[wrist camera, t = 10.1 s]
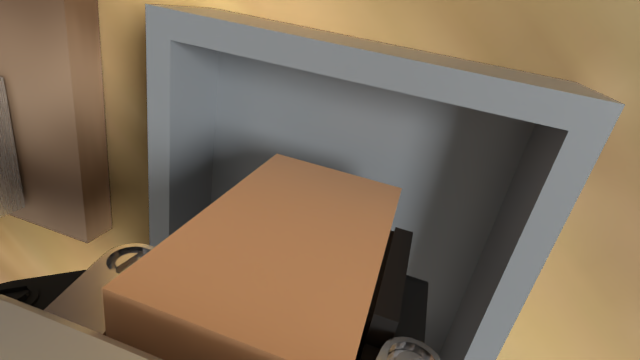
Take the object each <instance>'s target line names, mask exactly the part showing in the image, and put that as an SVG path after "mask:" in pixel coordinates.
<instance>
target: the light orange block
mask: <svg viewBox="0 0 640 360" xmlns="http://www.w3.org/2000/svg"><path fill="white" fill-rule="evenodd" d="M401 190H402V188H399V187H395V186H392V185H388V184H385V183H381V182H377V181H374V180H370V179H367V178H363V177H359V176H356V175H352V174H349V173H345V172H341V171H338V170H334V169H331V168H327V167H323V166H320V165H316V164H313V163H309V162H305V161H302V160H298V159H295V158H291V157H287V156H284V155H280V154H276V155H274V156H273V157H272V158H270V159H269V160H268V161H267V162H265V163H264V164H263V165H261V166H260V167H259V168H257V169H256V170H255V171H253V172H252V173H251V174H250V175H248V176H247V177H246V178H244V179H243V180H242V181H240V182H239V183H238V184H237V185H235V186H234V187H233V188H231V189H230V190H229V191H227V192H226V193H225V194H224V195H222V196H221V197H220V198H218V199H217V200H216V201H214V202H213V203H212V204H210V205H209V206H208V207H207V208H205V209H204V210H203V211H201V212H200V213H199V214H197V215H196V216H195V217H194V218H192V219H191V220H190V221H188V222H187V223H186V224H184V225H183V226H182V227H181V228H179V229H178V230H177V231H175V232H174V233H173V234H171V235H170V236H169V237H168V238H166V239H165V240H164V241H162V242H161V243H160V244H158V245H157V246H156V247H154V248H153V249H152V250H151V251H149V252H148V253H147V254H145V255H144V256H143V257H141V258H140V259H139V260H138V261H136V262H135V263H134V264H132V265H131V266H130V267H128V268H127V269H126V270H125V271H123V272H122V273H121V274H119V275H118V276H117V277H115V278H114V279H113V280H111V281H110V282H109V283H108V284H106V285H105V286H104V287H102V293H103V305H104V317H105V329H106V336H107V337H110V338H112V339H115V340H117V341H120V342H122V343H124V344H127V345H129V346H132V347H134V348H137V349H139V350H141V351H144V352H146V353H149V354H151V355H153V356H156V357H158V358H161V359H163V360H355V359H356V355H357V351H358V348H359V344H360V340H361V337H362V333H363V329H364V326H365V322H366V318H367V315H368V311H369V307H370V304H371V300H372V296H373V293H374V289H375V285H376V282H377V278H378V274H379V271H380V267H381V263H382V259H383V256H384V252H385V248H386V245H387V241H388V237H389V234H390V230H391V226H392V223H393V219H394V215H395V212H396V208H397V204H398V201H399V197H400V193H401Z"/></svg>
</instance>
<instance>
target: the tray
mask: <svg viewBox="0 0 640 360" xmlns="http://www.w3.org/2000/svg"><path fill="white" fill-rule="evenodd" d="M145 10H146V66H147V123H148V180H149V237H150V246H153V247H156V246H157V245H158V244H160V243H161V242H162V241H164V240H165V239H166V238H168V237H169V236H170V235H171V234H173V233H174V232H175V231H177V230H178V229H179V228H181V227H182V226H183V225H184V224H186V223H187V222H188V221H190V220H191V219H192V218H194V217H195V216H196V215H197V214H199V213H200V212H201V211H203V210H204V209H205V208H207V207H208V206H209V205H210V204H212V203H213V202H214V201H216V200H217V199H218V198H220V197H221V196H222V195H224V194H225V193H226V192H227V191H229V190H230V189H231V188H233V187H234V186H235V185H237V184H238V183H239V182H240V181H242V180H243V179H244V178H246V177H247V176H248V175H250V174H251V173H252V172H253V171H255V170H256V169H257V168H259V167H260V166H261V165H263V164H264V163H265V162H267V161H268V160H269V159H270V158H272V157H273V156H274V155H276V154H280V155H284V156H287V157H291V158H295V159H298V160H302V161H305V162H309V163H313V164H316V165H320V166H323V167H327V168H331V169H334V170H338V171H341V172H345V173H349V174H352V175H356V176H359V177H363V178H367V179H370V180H374V181H377V182H381V183H385V184H388V185H392V186H395V187H399V188H402V190H401V193H400V197H399V201H398V204H397V208H396V212H395V215H394V219H393V223H392V226H391V231H394V230H395V227H397V228H401V229H404V230H407V231H411V232H413V237H412V243H411V249H410V255H409V262H408V268H407V274H406V275H409V276H412V277H415V278H418V279H421V280H424V281H427V282H428V301H427V315H426V329H425V344H426V345H428V346H429V347H431V348H432V349H433V350H434V351H435V352H436V353H437V354H438V356H439V357H440V359H441V360H496V358H497V356H498V354H499V352H500V351H501V349H502V347H503V345H504V343H505V341H506V339H507V337H508V335H509V333H510V331H511V329H512V327H513V325H514V323H515V321H516V319H517V317H518V315H519V313H520V311H521V309H522V307H523V305H524V303H525V301H526V299H527V297H528V295H529V293H530V291H531V289H532V287H533V285H534V283H535V281H536V279H537V277H538V275H539V274H540V272H541V270H542V268H543V266H544V264H545V262H546V260H547V258H548V256H549V254H550V252H551V250H552V248H553V246H554V244H555V242H556V240H557V238H558V236H559V234H560V232H561V230H562V228H563V226H564V224H565V222H566V220H567V218H568V216H569V214H570V212H571V210H572V208H573V206H574V204H575V202H576V200H577V198H578V197H579V195H580V193H581V191H582V189H583V187H584V185H585V183H586V181H587V179H588V177H589V175H590V173H591V171H592V169H593V167H594V165H595V163H596V161H597V159H598V157H599V155H600V153H601V151H602V149H603V147H604V145H605V143H606V141H607V139H608V137H609V135H610V133H611V131H612V129H613V127H614V125H615V123H616V121H617V120H618V118H619V116H620V114H621V112H622V110H623V108H624V106H625V104H623V103H621V102H618V101H616V100H614V99H612V98H610V97H608V96H605V95H603V94H601V93H599V92H597V91H594V90H592V89H590V88H588V87H586V86H584V85H581V84H579V83H577V82H573V81H568V80H563V79H558V78H553V77H548V76H543V75H539V74H534V73H529V72H524V71H519V70H514V69H509V68H504V67H499V66H494V65H490V64H485V63H480V62H475V61H470V60H465V59H460V58H455V57H450V56H446V55H441V54H436V53H431V52H426V51H421V50H416V49H411V48H406V47H401V46H397V45H392V44H387V43H382V42H377V41H372V40H367V39H362V38H357V37H352V36H348V35H343V34H338V33H333V32H328V31H323V30H318V29H313V28H308V27H303V26H299V25H294V24H289V23H284V22H279V21H274V20H269V19H264V18H259V17H255V16H250V15H245V14H240V13H235V12H230V11H225V10H220V9H215V8H204V7H188V6H172V5H156V4H145Z"/></svg>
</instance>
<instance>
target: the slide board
mask: <svg viewBox="0 0 640 360" xmlns="http://www.w3.org/2000/svg"><path fill="white" fill-rule="evenodd" d="M0 76H1V77H3V78H4V84H5V90H6V96H7V102H8V107H9V113H10V119H11V125H12V131H13V137H14V143H15V149H16V154H17V160H18V166H19V172H20V178H21V184H22V190H23V196H24V201H25V207H24V208H22V209H19V210H17V211H15V212H13V213H10V214H9V215H12V216H14V217H17V218H20V219H22V220H25V221H28V222H31V223H33V224H36V225H39V226H42V227H44V228H47V229H50V230H53V231H55V232H58V233H61V234H63V235H66V236H69V237H72V238H74V239H77V240H80V241H83V242H85V243H89V242H90V241H92V240H94V239H95V238H97V237H98V236H100V235H102V234H103V233H105V232H107V231H108V230H110V229H112V218H111V202H110V187H109V171H108V156H107V140H106V125H105V110H104V94H103V79H102V63H101V48H100V32H99V17H98V1H97V0H0Z"/></svg>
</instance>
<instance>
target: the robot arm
mask: <svg viewBox="0 0 640 360" xmlns="http://www.w3.org/2000/svg"><path fill="white" fill-rule="evenodd" d="M412 237H413V232H411V231H407V230H404V229H401V228H397V227H395V230H394V231H391V230H390V234H389V237H388V241H387V245H386V248H385V252H384V256H383V259H382V263H381V267H380V271H379V274H378V278H377V282H376V285H375V289H374V293H373V296H372V300H371V304H370V307H369V311H368V315H367V318H366V322H365V326H364V329H363V333H362V337H361V340H360V344H359V348H358V351H357V355H356V359H355V360H441V359H440V357H439V356H438V354H437V353H436V352H435V351H434V350H433V349H432V348H431V347H429V346H428V345H426V344H425V329H426V315H427V301H428V282H427V281H424V280H421V279H418V278H415V277H412V276H409V275H406V274H407V268H408V262H409V255H410V249H411V243H412ZM153 248H154V247H153V246H150V245H147V244H141V243H131V244H124V245H120V246H117V247H115V248H112V249H110V250H109V251H107V252H106V253H105V254H103V255H102V256H101V257H100V258H99V259H98V260H97V261H96V262H95V263H94V264H93V265H92V266H91V267H89V268H88V269H87V270H82V271H75V272H69V273H62V274H55V275H48V276H42V277H35V278H28V279H22V280H15V281H10V282H6V283H2V284H0V360H163V359H161V358H158V357H156V356H153V355H151V354H149V353H146V352H144V351H141V350H139V349H137V348H134V347H132V346H129V345H127V344H124V343H122V342H120V341H117V340H115V339H112V338H110V337H107V336H106V329H105V317H104V305H103V293H102V287H104V286H105V285H106V284H108V283H109V282H110V281H111V280H113V279H114V278H115V277H117V276H118V275H119V274H121V273H122V272H123V271H125V270H126V269H127V268H128V267H130V266H131V265H132V264H134V263H135V262H136V261H138V260H139V259H140V258H141V257H143V256H144V255H145V254H147V253H148V252H149V251H151V250H152V249H153Z"/></svg>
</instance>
